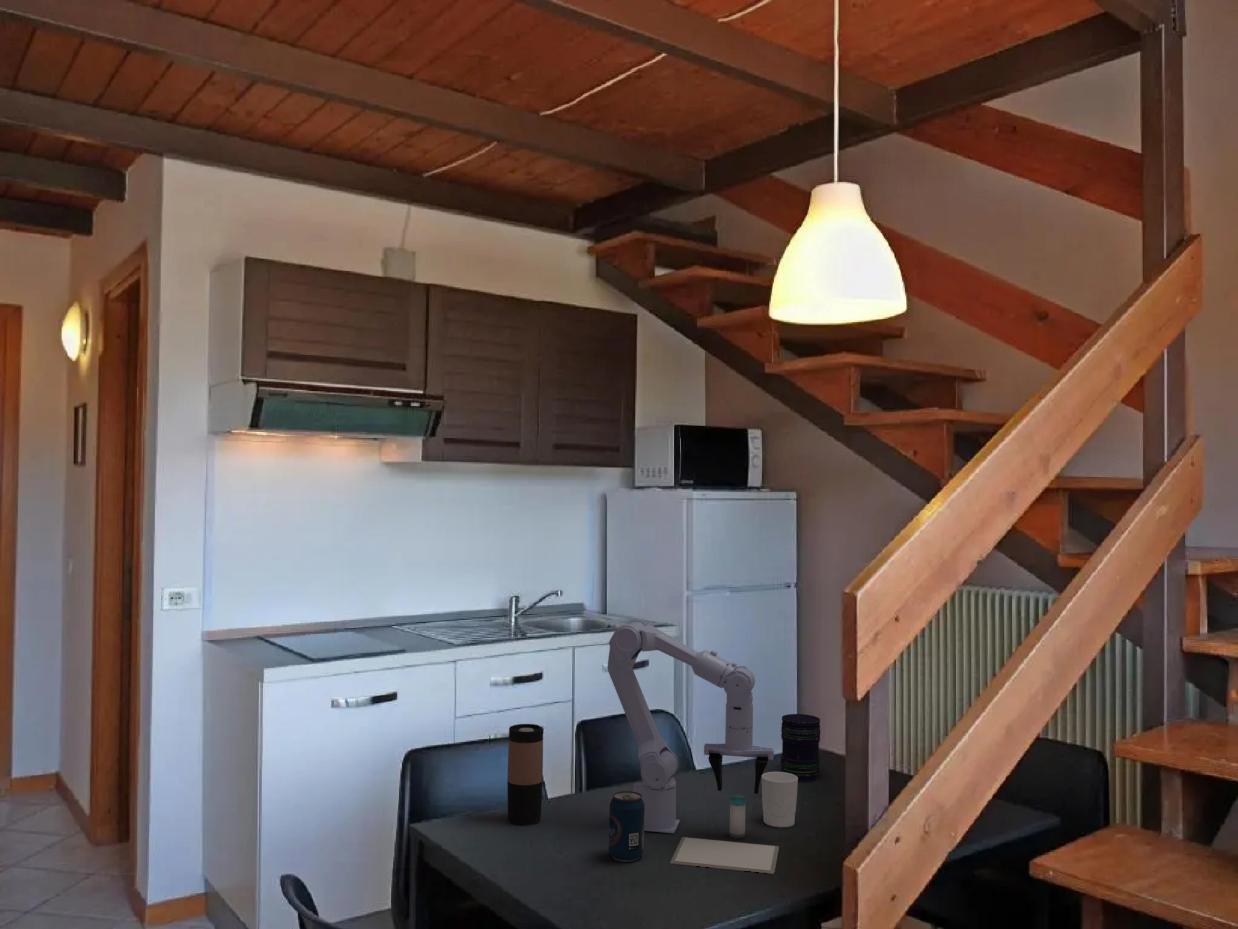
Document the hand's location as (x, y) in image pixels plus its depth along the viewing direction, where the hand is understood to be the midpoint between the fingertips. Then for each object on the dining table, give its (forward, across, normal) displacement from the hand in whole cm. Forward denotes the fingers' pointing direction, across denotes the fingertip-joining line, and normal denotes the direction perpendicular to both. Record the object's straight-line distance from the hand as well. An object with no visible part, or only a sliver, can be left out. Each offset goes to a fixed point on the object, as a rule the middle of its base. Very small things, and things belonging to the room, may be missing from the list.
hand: (738, 791), depth 210 cm
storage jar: (+10, +11, +48) cm, 50 cm away
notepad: (+9, -1, -12) cm, 15 cm away
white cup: (+10, +8, +11) cm, 17 cm away
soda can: (+10, -20, -18) cm, 29 cm away
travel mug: (+10, -46, -3) cm, 47 cm away
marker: (+9, 0, 0) cm, 9 cm away
